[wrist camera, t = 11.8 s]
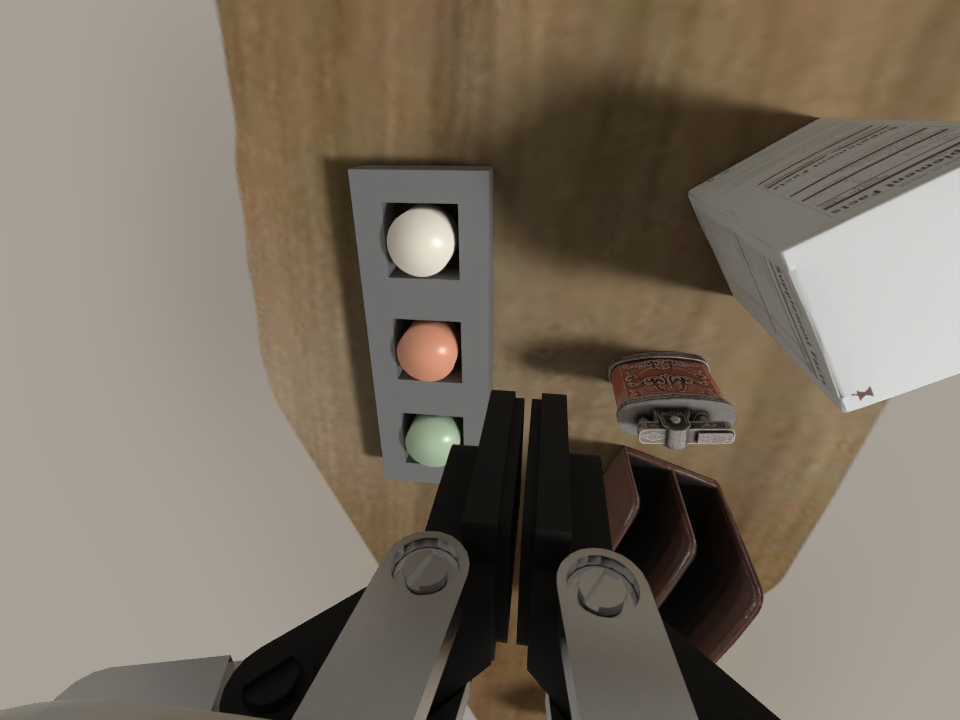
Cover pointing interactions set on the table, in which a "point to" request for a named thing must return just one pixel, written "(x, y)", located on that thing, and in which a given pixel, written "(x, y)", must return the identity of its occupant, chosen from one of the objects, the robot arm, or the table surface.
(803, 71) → the table surface
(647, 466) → the letter holder
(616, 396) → the lighter
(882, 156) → the supplement box
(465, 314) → the button panel
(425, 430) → the sage button
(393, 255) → the cream button
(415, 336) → the terracotta button
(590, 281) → the table surface
